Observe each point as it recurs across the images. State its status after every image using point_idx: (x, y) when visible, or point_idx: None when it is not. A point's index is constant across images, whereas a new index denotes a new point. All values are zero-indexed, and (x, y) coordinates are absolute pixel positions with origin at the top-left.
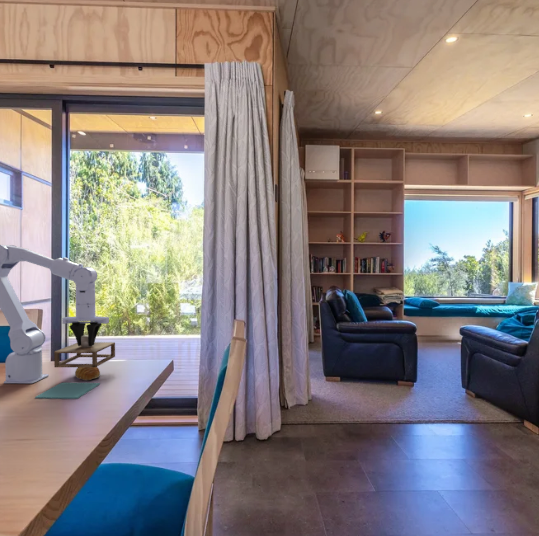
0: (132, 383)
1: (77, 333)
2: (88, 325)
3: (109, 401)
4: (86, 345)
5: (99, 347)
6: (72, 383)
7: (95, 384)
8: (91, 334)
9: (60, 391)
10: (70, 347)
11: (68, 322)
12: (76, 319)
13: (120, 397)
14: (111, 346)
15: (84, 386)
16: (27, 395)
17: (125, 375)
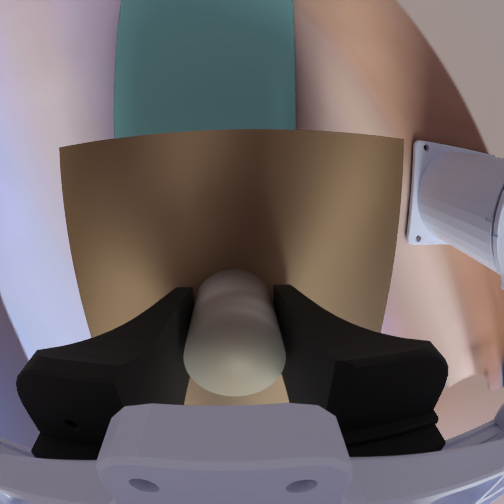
0: (14, 174)
1: (307, 328)
2: (76, 376)
3: (24, 13)
4: (210, 284)
5: (108, 281)
6: (235, 122)
7: (121, 121)
8: (120, 326)
9: (226, 27)
10: (351, 275)
11: (483, 433)
12: (338, 458)
13: (6, 47)
14: None
15: (155, 89)
16: (343, 12)
17: None
